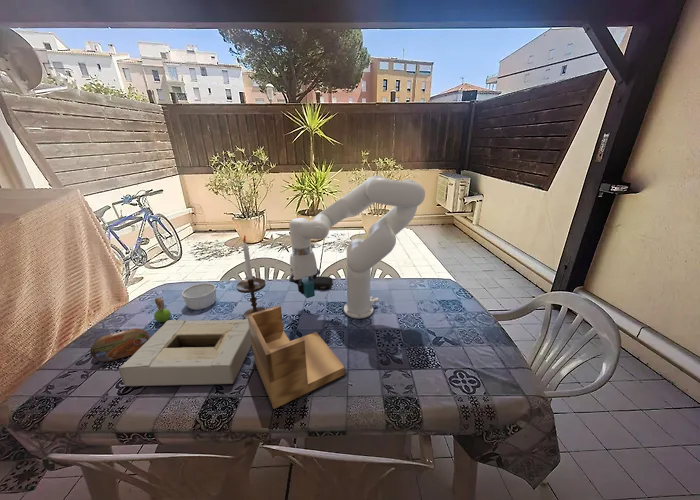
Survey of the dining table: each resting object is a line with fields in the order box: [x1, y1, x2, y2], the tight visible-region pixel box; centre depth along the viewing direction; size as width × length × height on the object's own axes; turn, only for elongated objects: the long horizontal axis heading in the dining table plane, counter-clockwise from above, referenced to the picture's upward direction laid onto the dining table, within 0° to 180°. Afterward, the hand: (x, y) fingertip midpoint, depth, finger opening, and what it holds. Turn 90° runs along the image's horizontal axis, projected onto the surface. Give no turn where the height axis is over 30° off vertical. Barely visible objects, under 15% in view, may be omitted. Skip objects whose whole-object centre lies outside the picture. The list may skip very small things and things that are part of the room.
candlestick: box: [236, 234, 267, 319], centre depth 106 cm, size 11×11×35 cm
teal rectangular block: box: [302, 277, 316, 299], centre depth 111 cm, size 4×9×6 cm, turn 32°
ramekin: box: [181, 282, 217, 311], centre depth 120 cm, size 13×13×7 cm
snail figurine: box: [153, 296, 171, 323], centre depth 106 cm, size 5×6×12 cm
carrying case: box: [308, 275, 334, 290], centre depth 136 cm, size 11×3×15 cm
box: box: [118, 318, 252, 387], centre depth 88 cm, size 23×8×32 cm
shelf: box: [247, 304, 346, 410], centre depth 82 cm, size 22×20×18 cm
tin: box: [89, 328, 150, 362], centre depth 90 cm, size 15×3×8 cm, turn 117°
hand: (306, 291), depth 112 cm, fingers closed on teal rectangular block, 3 cm apart
